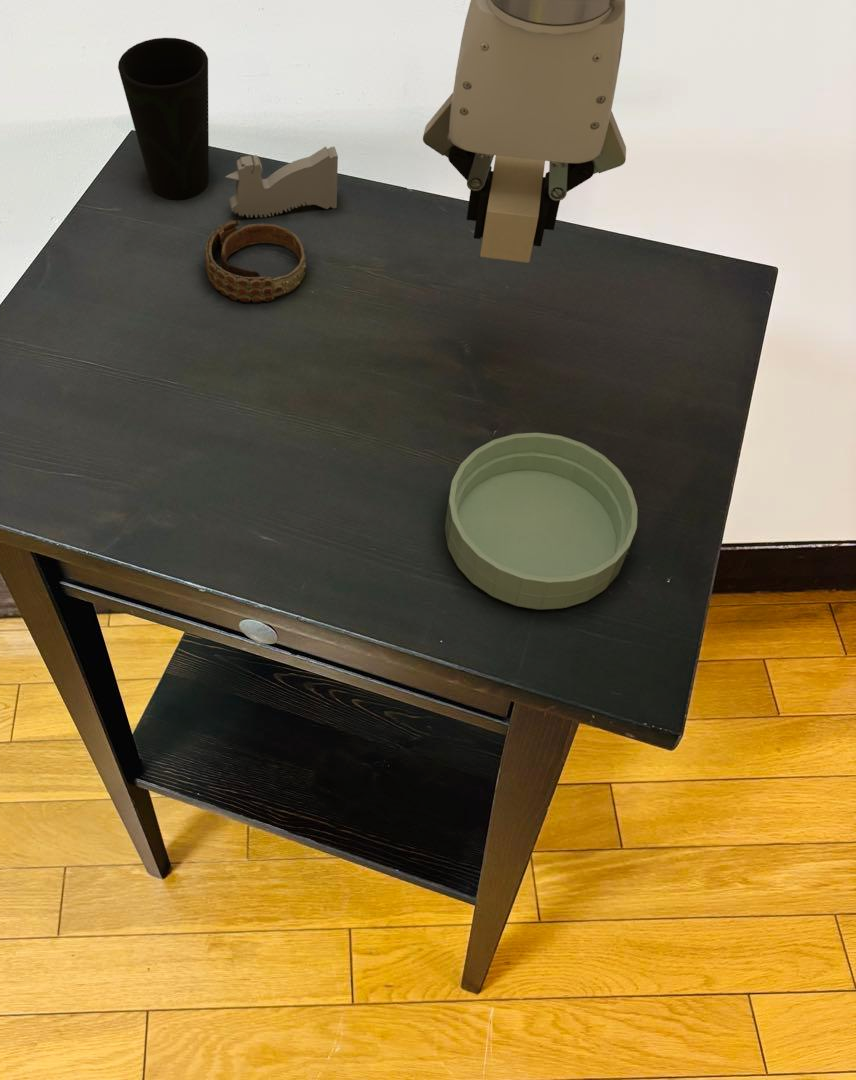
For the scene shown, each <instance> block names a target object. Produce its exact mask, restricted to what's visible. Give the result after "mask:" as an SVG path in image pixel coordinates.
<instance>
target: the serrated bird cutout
mask: <svg viewBox="0 0 856 1080" xmlns="http://www.w3.org/2000/svg"><path fill="white" fill-rule="evenodd" d="M338 161H339V155H338V152H337V149H336V147H335V146H330V147H329V148H328V147H327V146H324V147H322V148H321V149H319V150H317V151H316V152H314V153H312V154H311V155H310V156H307V157H302V158H300V159H296V160H293V161H292V162H289V163H287V164H285V165H283V166H281V167H280V168H278V169H277V170H275V171H274V172H273V173H272V174H270V175H269V176H268V177H266V178H262V173H263V166H262V161H261V159H260V158H259V156H258V155H257V154H255V155H253V156H252V155H245V156H240V157H239V159H237V160H236V170H235V171H234V172H231V173H229V174H227V175H225V177H224V178H228V179H231V180H234V181H235V182H236V183H235V194H234V195H232V196H231V197H230V198H229V204H230V208H231V212H232V213H233V212H234V214H235V215H237V214H238V216H239V217H244V216H245V217H246V218H251V219H252V218H253V217H254V218H255V219H257V218H258V217H259V218H267V217H274V216H275V215H276V216H278V215H279V214H283V213H284V212H285V213H288V211H289V212H291V209H292V210H294V209H298V208H300V207H302V206H303V207H304V206H312V205H315V206H318V207H321V208H323V209H325V210H328V209H329V208H331V209H337V207H338V169H339V168H338V163H339V162H338ZM283 211H284V212H283Z"/></svg>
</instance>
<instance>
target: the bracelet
mask: <svg viewBox="0 0 856 1080" xmlns="http://www.w3.org/2000/svg"><path fill="white" fill-rule="evenodd" d="M240 223H241V222H240V220H234V219H232V220H229V221H227V222H226V223H221V224H220V225H218V226H217V228H216V229H214V230H213V231H212V232H211V233H210V235H209V237H208V238H207V239H206V244H205V247H204V260H205V270H206V274H207V278H208V281H209V282H210V283H211V286H212V287H213V288H214V289H215V290H216V291H219V292H220V293H221V294H222V296H226V297H227V296H228V297H229V298H230V299H231V300H234V301H237V300H239V301H240V302H245V303H250V302H253V303H255V304H257V303H258V304H259V303H260V302H267V303H268V302H271V301H273V300H274V299H275V298H276V297H279V296H282V295H285V294H286V295H287V294H288V293H290V292H293V291H294V290H295V289H296V288H297V287H299V285H301V283H302V281H303V279H304V277H305V275H306V272H305V269H307V266H306V265H307V263H306V260H307V258H306V257H307V255H306V254H305V248H304V245H303V244H302V242H301V240H300V238H299V237H298V236H297V235H296V234H295V233H294V232H292V231H291V230H290V229H288V228H287V227H283V226H280V225H278V224H273V223H272V224H271V223H251V224H246V225H243V226H242V227H240V228H237V227H239V226H240ZM262 243H263V244H264V243H268V244H269V243H270V244H276V245H280V246H283V247H285V248H286V249H288V250H291V251H292V252H293V253H294V254H295V256H297V259H298V261H299V263H298V264H297V266H296V267H295V268H293V270H292V271H290V272H289V273H287V274H285V275H281V276H277V277H276V276H275V277H271V276H268V275H266V276H261V275H260V274H259V272H258V271H255V270H251V269H245V268H242V267H239V266H236V265H232V264H230V263H228V262H227V260H228V258H229V256H230V255H232V254H233V253H235V252H236V251H238V250H240V249H241V248H244V247H246V246H250V245H254V244H262ZM219 255H220V262H221V263H220V264H221V266H219V264H217V262H216V261H215V260H216V258H217V257H218V256H219Z"/></svg>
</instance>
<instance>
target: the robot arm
mask: <svg viewBox="0 0 856 1080" xmlns="http://www.w3.org/2000/svg"><path fill="white" fill-rule="evenodd" d="M625 23H626V0H470V2H469V6H468V9H467V13H466V17H465V21H464V26H463V31H462V36H461V41H460V46H459V53H458V59H457V63H456V64H457V65H456V69H455V76H454V83H453V91H452V92H451V94H450V95H449V96H448V98H447V99H446V100H445V101H444V102H443V104H441V106H440V108H438V110H437V111H436V112H435V114H434V115H433V116H432V117H431V119H430V120H429V121H428V122H427V123H426V125H425V126H424V130H423V136H422V141H423V143H424V144H425V145H426V146H427V147H429V148H430V149H432V150H434V151H435V152H437V153H438V154H439V155H441V156H442V157H443V156H444V157H446V158H447V159H448V162H449V163H450V165H452V166H453V168H455V170H457V172H458V173H459V174H460V175H461V176H462V177H463V179H465V180H466V187H467V188H468V189H469V190H470V192H469V197H468V198H469V199H468V207H467V214H466V221H473V222H475V226H474V234H473V239H477V240H481V239H482V238H483V233H484V226H485V220H486V213H487V207H488V201H489V194H490V188H491V182H492V176H493V170H492V168H493V167H492V163H493V160H494V158H495V156H496V155H498V156H507V157H516V158H525V159H534V160H543V161H545V162H549V166H548V167H549V168H548V171H547V172H545V175H544V176H543V183H542V191H541V200H540V208H539V217H538V222H537V227H536V232H535V237H534V242H533V246H534V247H542V244H543V243H542V242H543V239H544V233H545V230H548V231H554V230H555V226H556V221H557V217H558V212H559V208H560V204H561V203H560V202H561V201H563V200H564V199H565V198H566V196H567V195H568V194H567V193H568V192H570V191H571V190H573V189H575V188H576V187H578V186H579V185H582V184H583V183H584V182H586V181H588V180H589V179H591V178H592V177H593V176H594V175H596V174H602V173H603V172H604V173H605V172H607V171H610V170H613V169H616V168H619V167H621V166H623V165H624V164H625V163H626V161H627V160H626V157H627V145H626V144H625V140H624V138H623V136H622V134H621V133H622V132H621V131H620V129H619V125H618V124H617V120H616V118H615V116H614V114H613V111H612V109H613V103H614V98H615V93H616V88H617V82H618V76H619V70H620V64H621V58H622V48H623V41H624V33H625V25H626V24H625Z"/></svg>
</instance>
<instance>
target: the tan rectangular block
mask: <svg viewBox="0 0 856 1080" xmlns="http://www.w3.org/2000/svg"><path fill="white" fill-rule="evenodd" d="M545 165H546V161H543V160H534V159H525V158H516V157H507V156H498V155H495V156H494V164H493V170H492V171H493V176H492V182H491V188H490V194H489V201H488V207H487V213H486V220H485V226H484V233H483V237H482V238H481V239H482V241H481V247H480V254H479V257H480V258H485V259H486V258H487V259H493V260H500V261H501V260H502V261H510V262H518V263H527V264H529V263H530V261H531V258H532V257H531V256H532V252H533V246H534V244H533V242H534V237H535V232H536V227H537V222H538V217H539V208H540V200H541V191H542V183H543V177H544V176H545V175H544V173H545Z"/></svg>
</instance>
